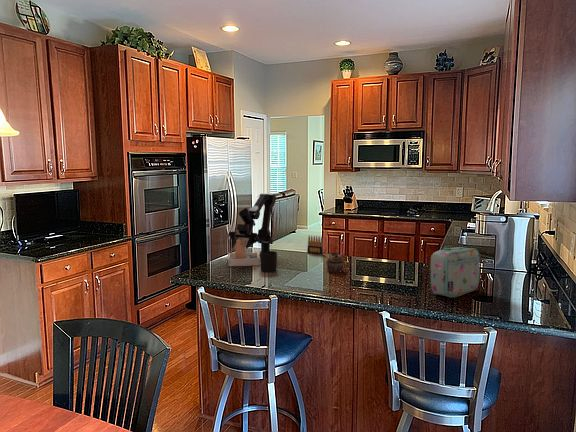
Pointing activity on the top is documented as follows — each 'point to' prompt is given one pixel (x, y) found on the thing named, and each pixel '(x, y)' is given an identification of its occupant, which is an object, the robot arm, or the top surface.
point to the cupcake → (334, 262)
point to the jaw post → (240, 249)
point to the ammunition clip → (315, 245)
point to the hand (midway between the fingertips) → (239, 248)
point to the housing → (248, 261)
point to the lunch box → (455, 271)
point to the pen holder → (268, 261)
